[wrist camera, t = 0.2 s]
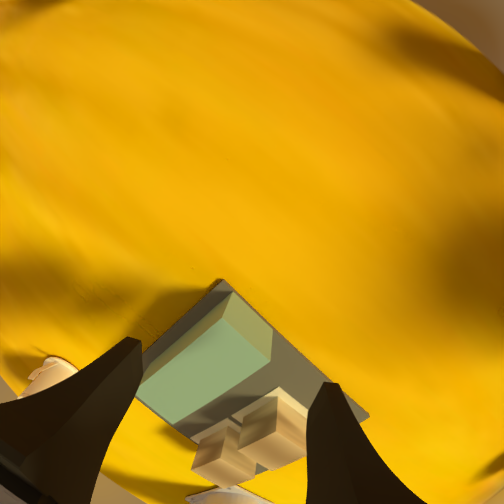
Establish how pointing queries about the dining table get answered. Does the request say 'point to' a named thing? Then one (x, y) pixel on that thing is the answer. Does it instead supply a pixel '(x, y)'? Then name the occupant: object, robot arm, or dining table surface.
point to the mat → (253, 387)
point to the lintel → (207, 360)
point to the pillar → (273, 435)
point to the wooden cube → (223, 459)
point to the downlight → (49, 375)
